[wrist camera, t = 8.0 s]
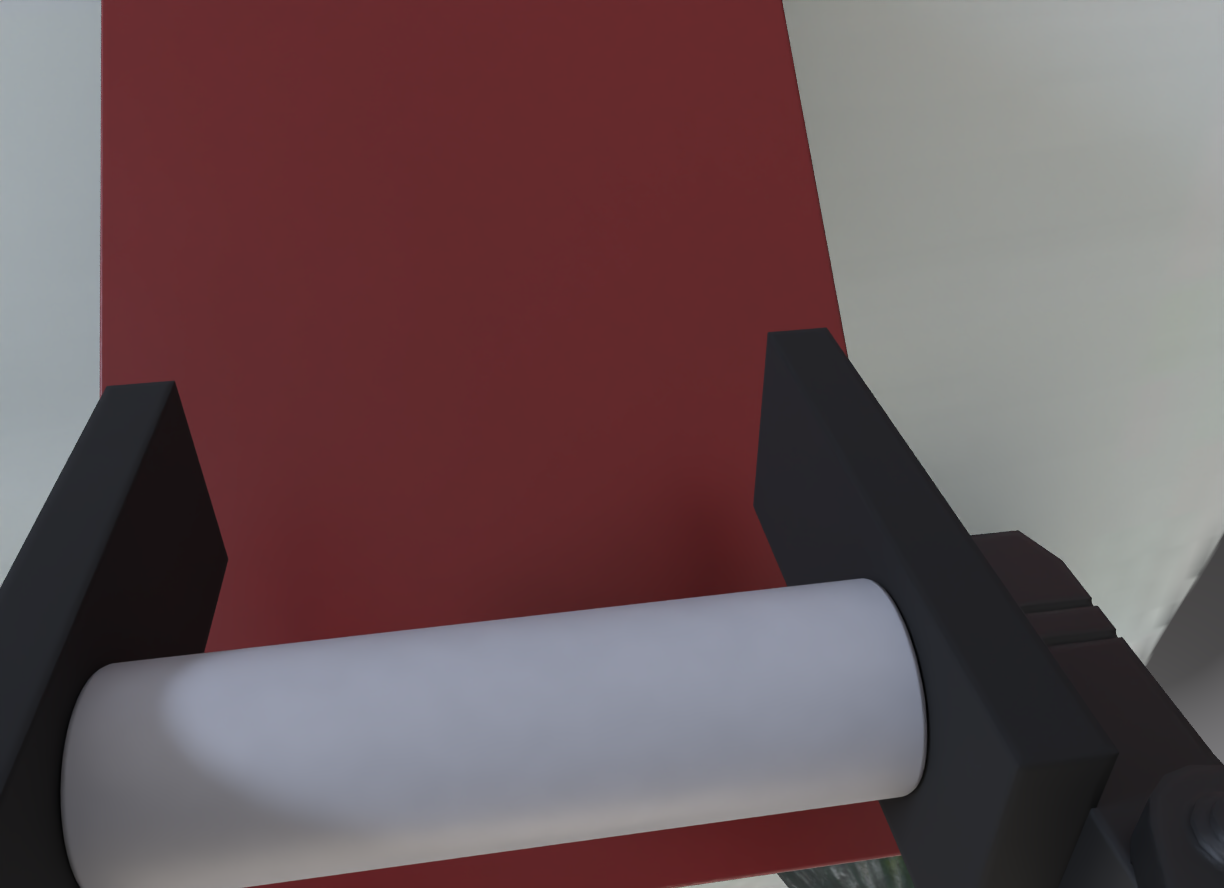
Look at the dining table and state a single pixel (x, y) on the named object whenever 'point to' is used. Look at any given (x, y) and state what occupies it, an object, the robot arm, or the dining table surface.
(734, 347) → the lid
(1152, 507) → the dining table surface
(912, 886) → the squash
